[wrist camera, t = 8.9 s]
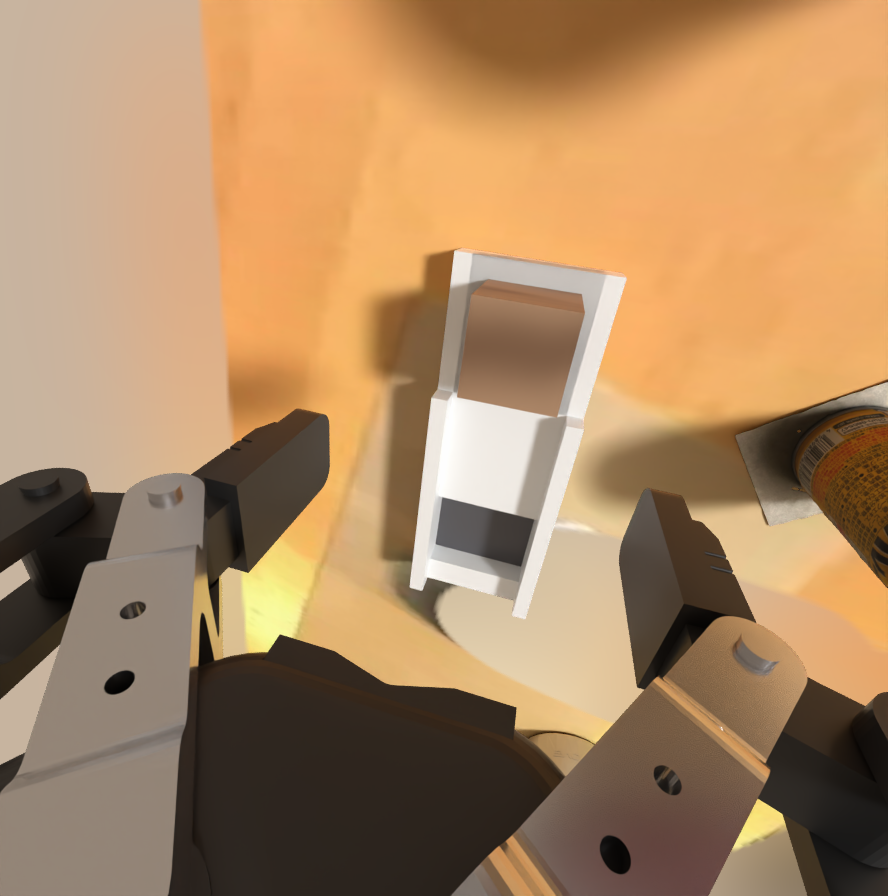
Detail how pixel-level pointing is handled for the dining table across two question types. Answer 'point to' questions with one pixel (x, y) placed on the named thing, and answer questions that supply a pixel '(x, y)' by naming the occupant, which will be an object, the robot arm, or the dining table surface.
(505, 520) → the channel
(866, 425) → the condiment
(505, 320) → the walnut block
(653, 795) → the robot arm
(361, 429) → the dining table surface
